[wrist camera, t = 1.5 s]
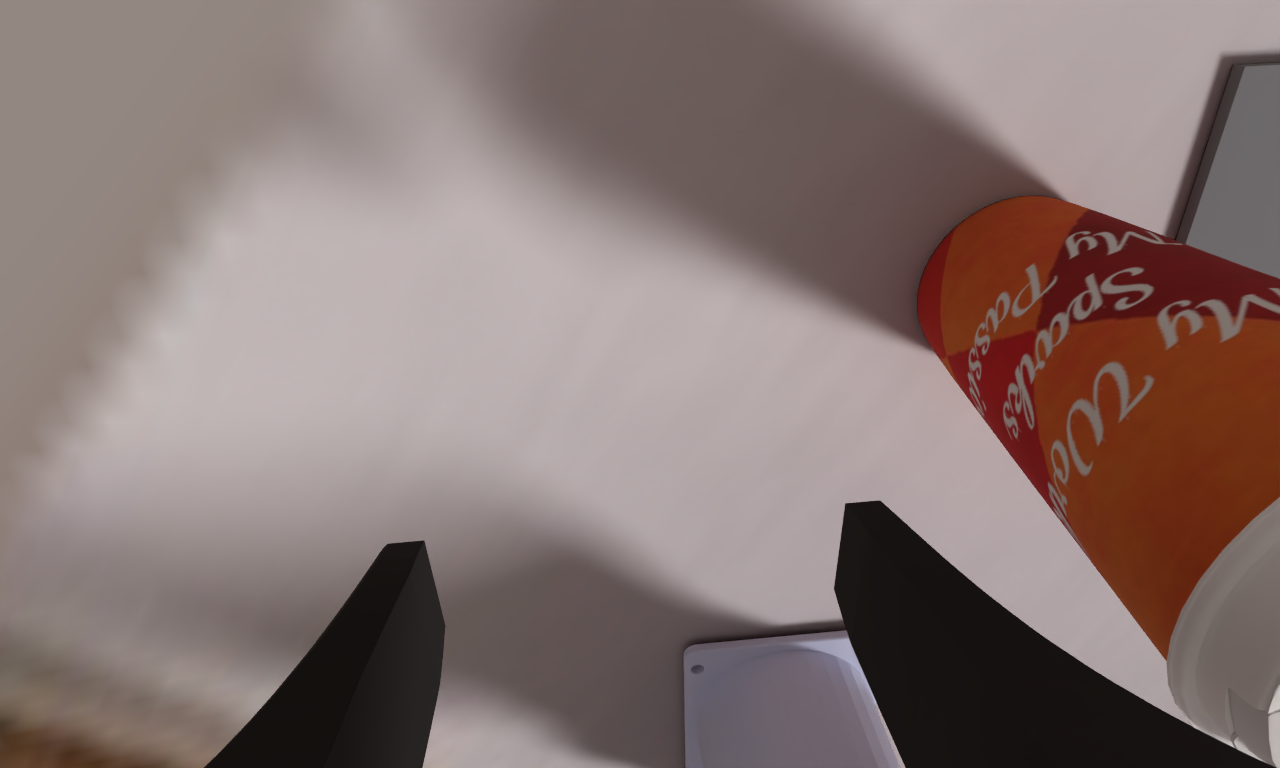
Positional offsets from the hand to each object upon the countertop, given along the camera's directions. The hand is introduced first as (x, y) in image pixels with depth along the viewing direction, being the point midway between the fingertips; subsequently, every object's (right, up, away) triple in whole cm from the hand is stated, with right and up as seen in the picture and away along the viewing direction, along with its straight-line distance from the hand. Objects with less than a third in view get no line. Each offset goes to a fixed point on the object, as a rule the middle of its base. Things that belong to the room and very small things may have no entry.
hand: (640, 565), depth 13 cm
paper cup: (+11, +6, +10) cm, 16 cm away
